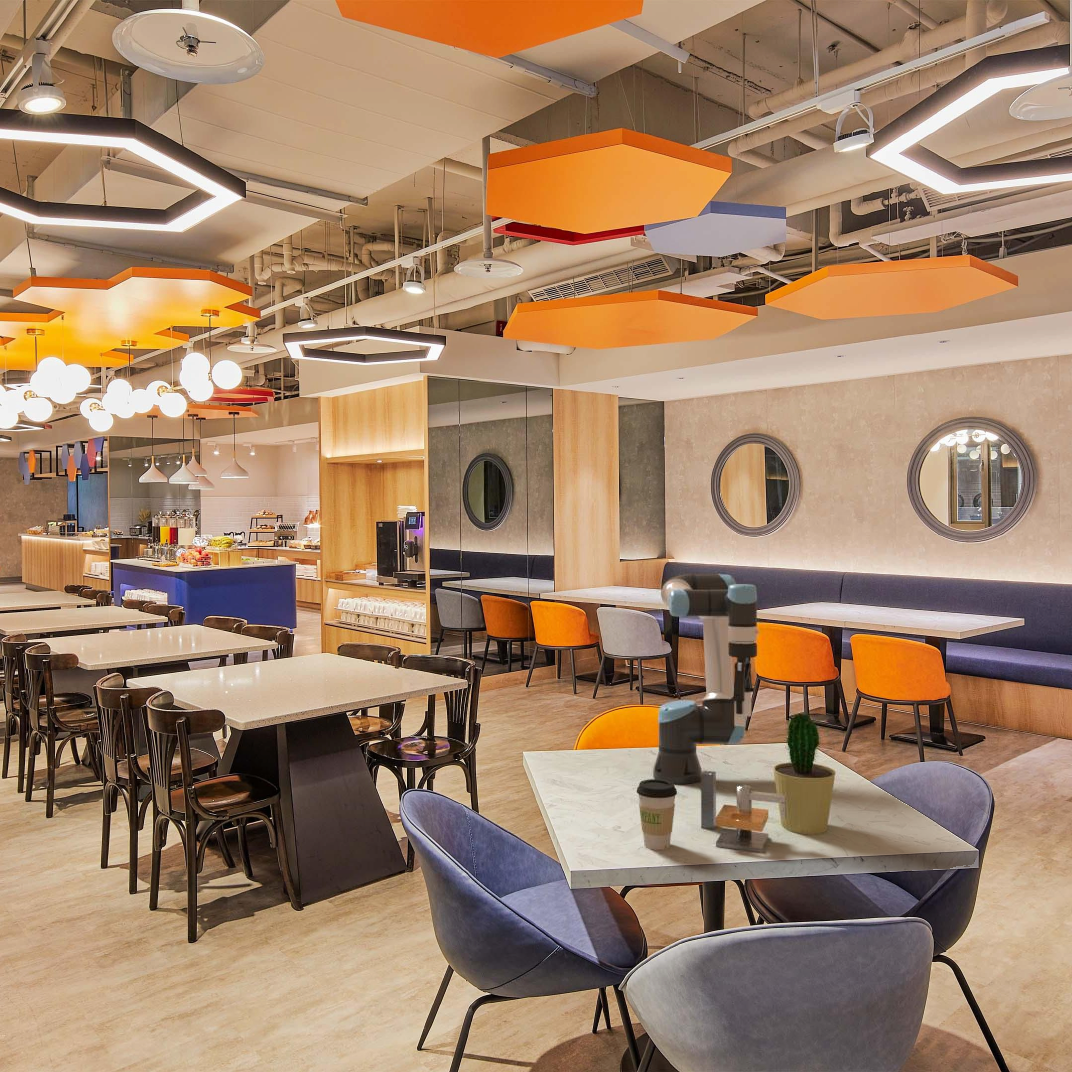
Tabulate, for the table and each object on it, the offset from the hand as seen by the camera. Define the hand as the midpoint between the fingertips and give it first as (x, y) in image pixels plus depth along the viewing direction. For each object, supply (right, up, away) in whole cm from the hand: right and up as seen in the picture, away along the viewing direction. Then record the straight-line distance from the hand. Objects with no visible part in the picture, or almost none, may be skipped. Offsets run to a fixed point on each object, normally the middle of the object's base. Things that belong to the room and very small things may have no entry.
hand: (743, 721), depth 232 cm
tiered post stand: (-3, -26, -20) cm, 33 cm away
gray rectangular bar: (-11, -26, -8) cm, 29 cm away
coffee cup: (-26, -26, -21) cm, 42 cm away
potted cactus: (+14, -26, -8) cm, 31 cm away
